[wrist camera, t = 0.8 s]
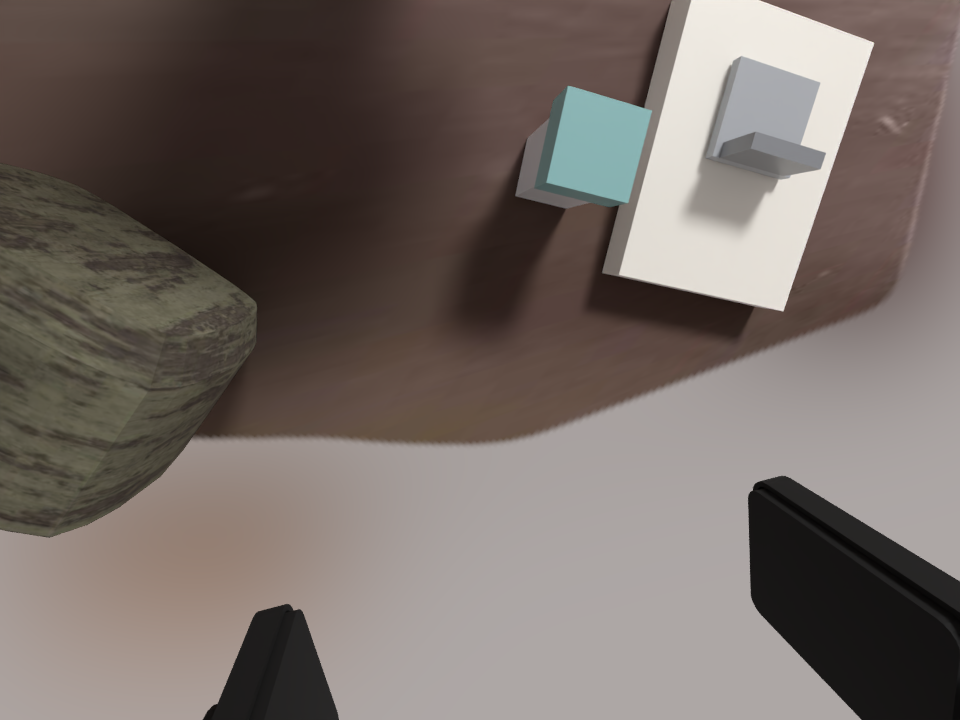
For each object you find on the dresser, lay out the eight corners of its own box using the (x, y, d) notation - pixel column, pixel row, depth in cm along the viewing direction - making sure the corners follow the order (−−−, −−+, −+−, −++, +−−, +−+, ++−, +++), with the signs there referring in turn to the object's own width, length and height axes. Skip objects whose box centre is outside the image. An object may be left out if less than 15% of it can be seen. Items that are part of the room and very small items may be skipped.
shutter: (733, 60, 31) (777, 35, 27) (810, 86, 32) (862, 65, 28) (705, 158, 32) (743, 146, 28) (781, 179, 33) (827, 171, 30)
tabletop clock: (30, 291, 31) (-1362, 446, 6) (102, 176, 30) (-1196, -134, 6) (233, 408, 34) (-172, 783, 10) (302, 309, 33) (37, 465, 9)
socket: (671, 1, 32) (697, -23, 30) (835, 59, 35) (874, 42, 32) (601, 272, 36) (618, 274, 33) (755, 306, 39) (783, 311, 36)
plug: (523, 130, 33) (568, 85, 24) (585, 148, 34) (652, 110, 25) (508, 200, 34) (546, 182, 25) (570, 215, 35) (628, 203, 26)
